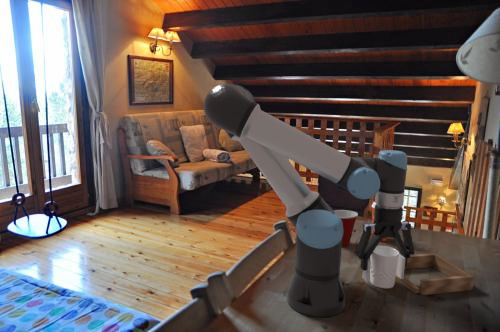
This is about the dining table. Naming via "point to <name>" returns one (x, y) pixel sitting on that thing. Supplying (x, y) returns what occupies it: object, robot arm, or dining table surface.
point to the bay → (452, 283)
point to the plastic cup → (347, 224)
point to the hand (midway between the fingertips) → (382, 278)
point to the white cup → (383, 266)
